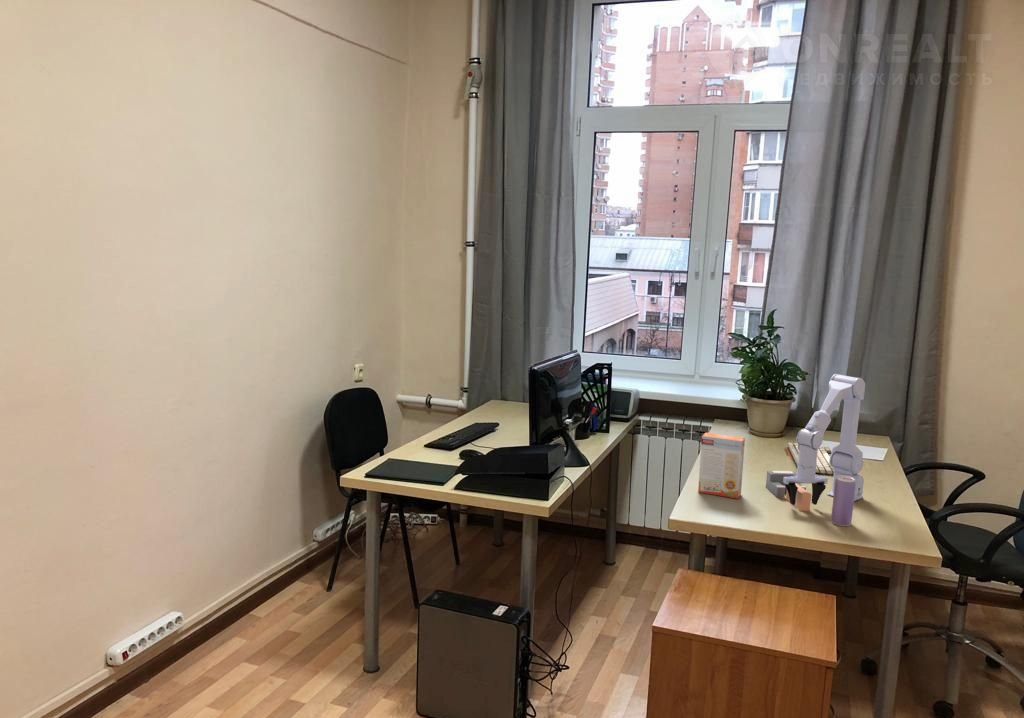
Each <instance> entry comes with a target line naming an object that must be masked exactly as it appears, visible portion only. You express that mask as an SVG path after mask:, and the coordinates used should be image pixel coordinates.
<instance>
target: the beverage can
mask: <svg viewBox="0 0 1024 718" xmlns="http://www.w3.org/2000/svg"><path fill="white" fill-rule="evenodd" d="M855 485H856V482H855V479H854V478H853V477H850V476H843V475H840V476H836V479H835V487H834V496H832V498H833V499H832V507H831V518H830V520H831V522H832V524H835V525H837V526H840V527H848V526H850V525H851V524H852V521H853V511H854V502H855V501H854V494H855Z"/></svg>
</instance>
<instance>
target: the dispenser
mask: <svg viewBox="0 0 1024 718" xmlns="http://www.w3.org/2000/svg"><path fill="white" fill-rule="evenodd" d="M795 475H797V471H796V472H795V471H791V470H789V471H788V470H767V471H766V481H765V488H766V489H768V490H769V492H770V493H772V495H773V496H775V498H782V499H783V498H785V496H786V495H785V493H786V492H787V488H786V486H785V483H783V478H784V477H789V476H795ZM796 484H798V485H799V486H801V487H802V488H803V489H805V490H806V491H807V486H805V485H802V483H796Z"/></svg>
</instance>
